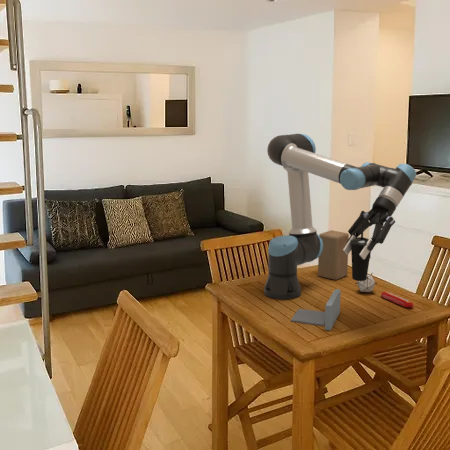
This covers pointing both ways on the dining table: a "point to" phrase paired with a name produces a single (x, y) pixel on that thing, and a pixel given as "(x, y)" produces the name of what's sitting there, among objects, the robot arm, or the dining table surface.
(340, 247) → the wooden block
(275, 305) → the dining table surface
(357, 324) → the dining table surface
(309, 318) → the rubber mat
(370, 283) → the game die
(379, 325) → the dining table surface
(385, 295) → the candy bar
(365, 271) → the drinking cup
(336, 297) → the low wall
